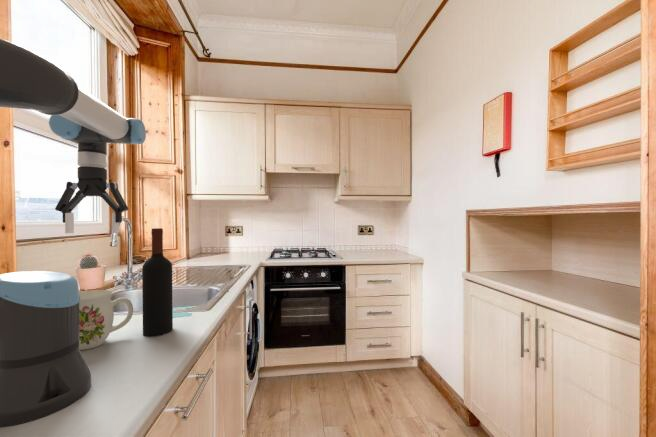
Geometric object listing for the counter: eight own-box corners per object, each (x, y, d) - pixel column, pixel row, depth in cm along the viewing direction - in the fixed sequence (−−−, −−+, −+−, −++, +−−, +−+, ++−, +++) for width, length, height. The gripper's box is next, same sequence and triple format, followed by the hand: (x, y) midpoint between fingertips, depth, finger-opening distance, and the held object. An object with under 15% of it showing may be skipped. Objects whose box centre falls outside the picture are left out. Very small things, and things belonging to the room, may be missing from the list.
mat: (203, 315, 103) (203, 315, 103) (164, 318, 100) (164, 318, 100) (208, 305, 115) (208, 305, 115) (173, 308, 112) (173, 307, 112)
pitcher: (136, 341, 82) (136, 290, 82) (45, 362, 71) (45, 302, 70) (130, 329, 91) (129, 283, 91) (47, 346, 79) (47, 293, 79)
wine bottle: (138, 338, 84) (137, 229, 84) (148, 328, 92) (147, 228, 91) (168, 335, 86) (167, 228, 86) (175, 326, 93) (174, 227, 93)
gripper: (139, 169, 104) (139, 232, 104) (58, 168, 101) (58, 232, 101) (128, 166, 97) (128, 233, 97) (40, 164, 94) (40, 234, 94)
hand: (92, 233), depth 99 cm, fingers open, 13 cm apart
